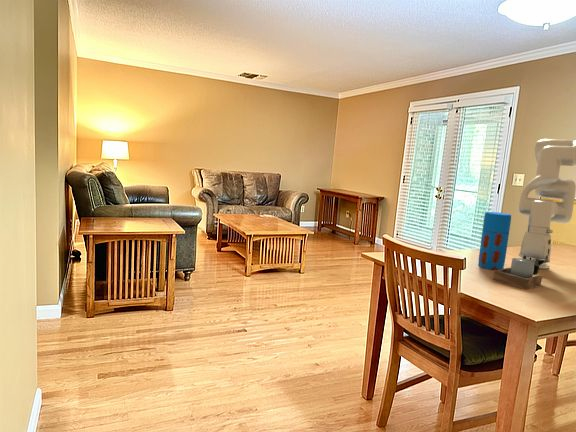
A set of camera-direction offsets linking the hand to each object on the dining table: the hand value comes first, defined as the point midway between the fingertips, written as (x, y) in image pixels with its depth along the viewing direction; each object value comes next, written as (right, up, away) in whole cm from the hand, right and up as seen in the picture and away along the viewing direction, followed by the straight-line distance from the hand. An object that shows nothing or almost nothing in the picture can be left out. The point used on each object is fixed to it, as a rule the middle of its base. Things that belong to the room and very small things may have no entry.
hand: (531, 273), depth 171 cm
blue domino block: (-8, 0, +18) cm, 20 cm away
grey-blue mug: (-5, -3, -3) cm, 7 cm away
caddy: (-9, -3, -6) cm, 12 cm away
